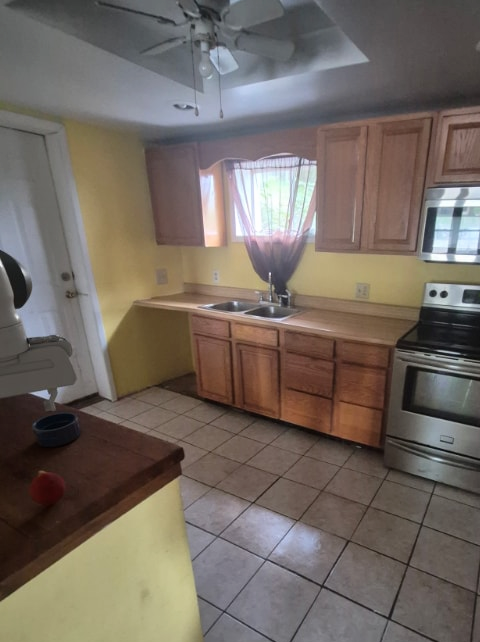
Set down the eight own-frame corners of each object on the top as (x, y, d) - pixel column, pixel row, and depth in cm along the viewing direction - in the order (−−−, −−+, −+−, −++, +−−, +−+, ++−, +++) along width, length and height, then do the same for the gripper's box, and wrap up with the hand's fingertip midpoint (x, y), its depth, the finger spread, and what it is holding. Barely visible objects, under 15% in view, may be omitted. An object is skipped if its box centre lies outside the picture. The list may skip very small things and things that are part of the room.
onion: (64, 490, 78) (55, 458, 74) (73, 503, 74) (63, 470, 71) (32, 503, 74) (20, 470, 71) (39, 518, 70) (27, 484, 67)
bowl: (28, 449, 92) (23, 431, 90) (51, 428, 101) (46, 412, 99) (69, 448, 92) (64, 430, 90) (88, 428, 101) (84, 412, 99)
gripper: (67, 329, 68) (84, 397, 73) (-85, 347, 58) (-51, 424, 63) (68, 337, 63) (87, 409, 68) (-97, 358, 53) (-59, 441, 58)
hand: (19, 417), depth 66 cm, fingers open, 8 cm apart
